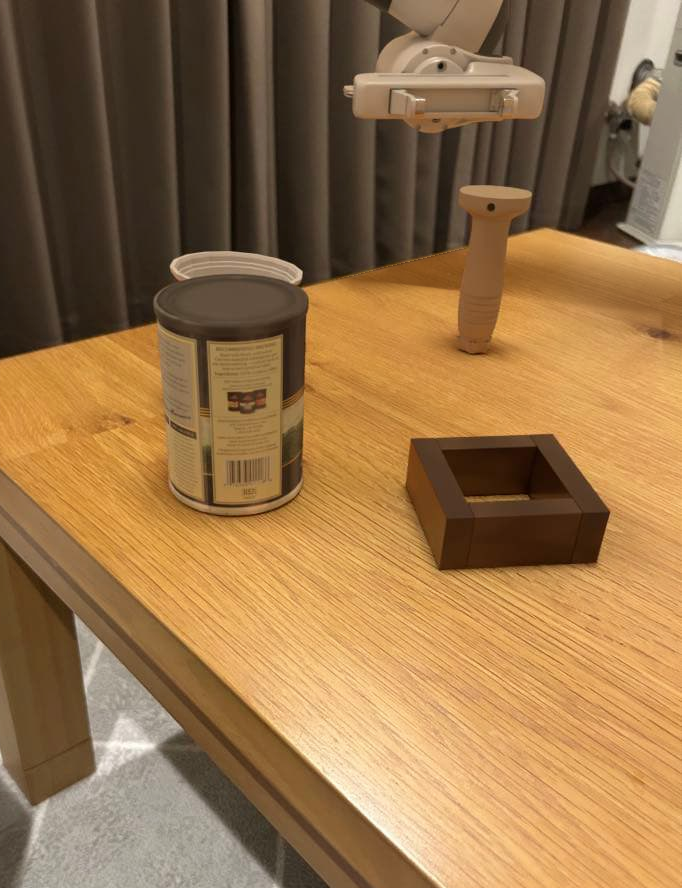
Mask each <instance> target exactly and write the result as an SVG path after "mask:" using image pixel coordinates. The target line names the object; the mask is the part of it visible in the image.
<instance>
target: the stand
mask: <svg viewBox="0 0 682 888" xmlns="http://www.w3.org/2000/svg"><path fill="white" fill-rule="evenodd" d="M406 469H407V470H406V477H405V478H406V479H405V488H406V490H407V492H408V495H409V498H410V500H411V503H412V505H413V507H414V510H415V513H416V515H417V517H418V520H419V522H420V525H421V527H422V530H423V533H424V535H425V538H426V540H427V542H428V545H429V547H430V550H431V552H432V554H433V557H434V560H435V562H436V564H437V567H438V569H439V570H454V569H455V570H456V569H476V568H496V567H518V566H537V565H538V566H540V565H541V566H542V565H564V564H565V565H566V564H589V563H590V564H591V563H593V564H594V563H597V562H598V560H599V556H600V551H601V548H602V544H603V541H604V537H605V533H606V530H607V526H608V522H609V519H610V515H611V510H610V509H609V508H608V506H607V505H606V504H605V502H604V501H603V500H602V498H601V497H600V495H599V494H598V493H597V491H596V490H595V489H594V488H593V486H592V484H591V483H590V482H589V481H588V479H587V478H586V477H585V475H584V474H583V473H582V471H581V470H580V469H579V467H578V465H576V463H575V461H574V460H573V459H572V458H571V456H570V455H569V454H568V452H567V451H566V450H565V449H564V447H563V446H562V444H561V443H560V441H559V440H558V439H557V437H556V436H555V435H554V433H538V434H537V433H531V434H508V435H505V434H504V435H478V436H477V435H475V436H474V435H473V436H449V437H448V436H445V437H417V438H416V437H414V438H410V441H409V451H408V460H407V468H406ZM514 494H515V495H516V494H517V495H519V494H527V495H528V497H529V499H518V500H517V499H516V500H493V501H492V500H491V501H489V500H488V501H467V500H466V497H467V496H469V497H470V496H493V495H514Z"/></svg>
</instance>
